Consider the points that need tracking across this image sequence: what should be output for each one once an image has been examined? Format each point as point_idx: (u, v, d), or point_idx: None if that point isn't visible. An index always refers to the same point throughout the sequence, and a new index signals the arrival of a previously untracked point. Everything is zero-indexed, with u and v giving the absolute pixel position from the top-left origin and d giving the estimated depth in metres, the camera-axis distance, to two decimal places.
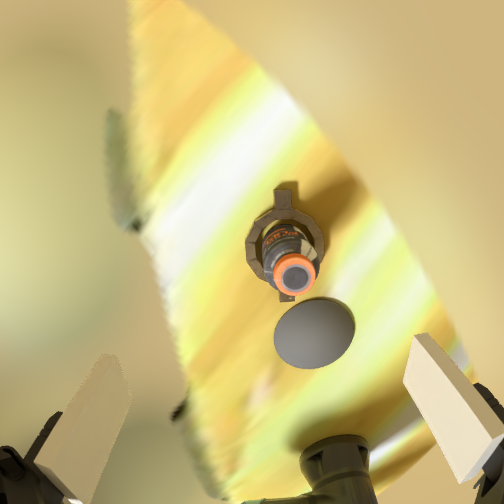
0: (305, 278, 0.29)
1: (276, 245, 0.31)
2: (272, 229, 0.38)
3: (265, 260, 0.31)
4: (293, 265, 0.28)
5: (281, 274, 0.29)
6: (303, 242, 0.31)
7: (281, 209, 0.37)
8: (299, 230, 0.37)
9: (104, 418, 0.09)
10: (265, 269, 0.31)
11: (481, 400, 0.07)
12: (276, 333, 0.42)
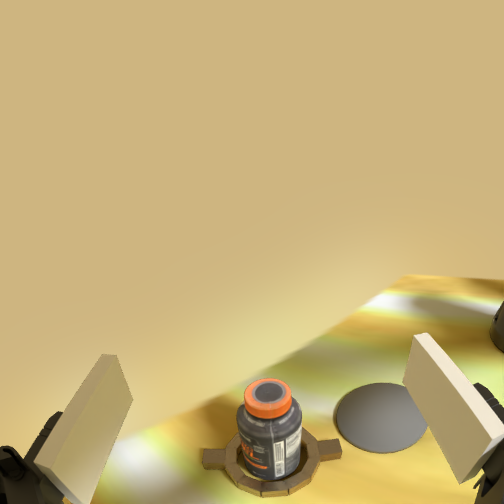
0: (268, 384, 0.24)
1: (241, 426, 0.23)
2: (247, 466, 0.25)
3: (258, 436, 0.22)
4: (253, 394, 0.23)
5: (263, 403, 0.22)
6: None
7: (224, 457, 0.26)
8: None
9: (104, 418, 0.09)
10: (269, 434, 0.22)
11: (481, 399, 0.07)
12: (389, 449, 0.25)
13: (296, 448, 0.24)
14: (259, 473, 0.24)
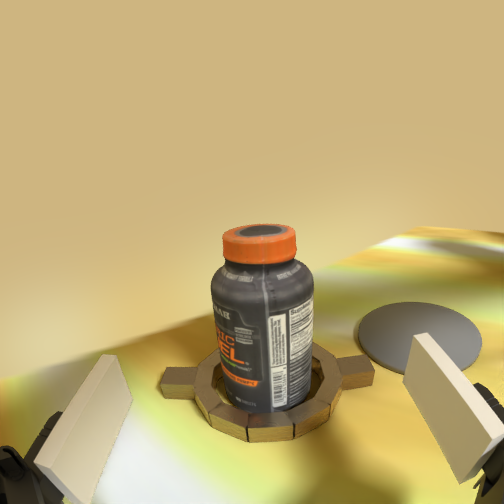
0: (260, 225, 0.17)
1: (215, 290, 0.16)
2: (228, 391, 0.18)
3: (242, 299, 0.15)
4: (236, 233, 0.16)
5: (252, 237, 0.15)
6: None
7: (194, 378, 0.19)
8: None
9: (104, 418, 0.09)
10: (260, 293, 0.15)
11: (481, 399, 0.07)
12: None
13: (306, 347, 0.17)
14: (246, 400, 0.17)
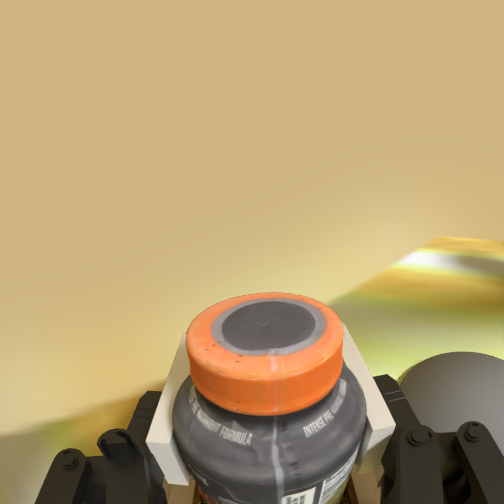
0: (267, 303, 0.08)
1: (178, 436, 0.07)
2: None
3: (231, 475, 0.06)
4: (215, 329, 0.07)
5: (249, 355, 0.06)
6: None
7: (167, 498, 0.10)
8: None
9: None
10: (267, 470, 0.05)
11: (377, 390, 0.09)
12: None
13: (341, 494, 0.07)
14: None
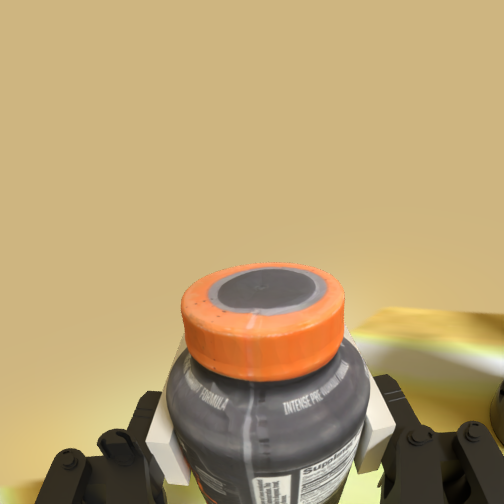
0: (274, 270, 0.08)
1: (166, 395, 0.07)
2: None
3: (201, 440, 0.06)
4: (212, 288, 0.07)
5: (231, 312, 0.06)
6: None
7: None
8: None
9: None
10: (236, 442, 0.05)
11: (377, 390, 0.09)
12: None
13: (332, 494, 0.07)
14: None
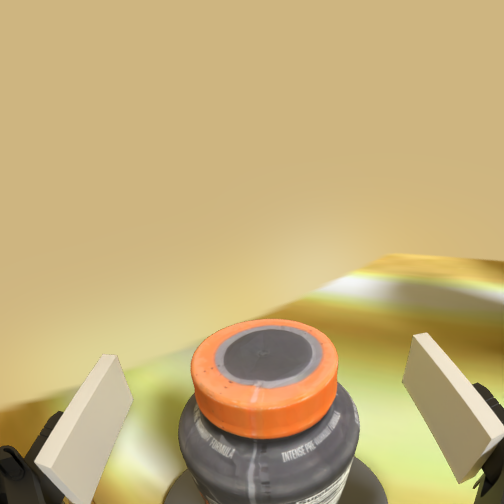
0: (274, 331, 0.09)
1: (179, 438, 0.08)
2: None
3: (212, 480, 0.06)
4: (219, 352, 0.08)
5: (237, 383, 0.07)
6: None
7: None
8: None
9: (105, 418, 0.09)
10: (242, 483, 0.06)
11: (480, 399, 0.07)
12: None
13: None
14: None
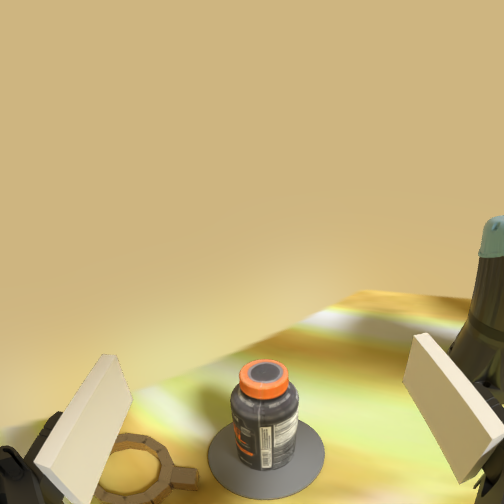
0: (267, 364, 0.24)
1: (232, 403, 0.23)
2: (237, 451, 0.25)
3: (245, 415, 0.22)
4: (248, 372, 0.23)
5: (255, 381, 0.22)
6: None
7: None
8: None
9: (104, 418, 0.09)
10: (256, 415, 0.21)
11: (481, 400, 0.07)
12: (253, 495, 0.21)
13: (287, 440, 0.23)
14: (246, 460, 0.24)
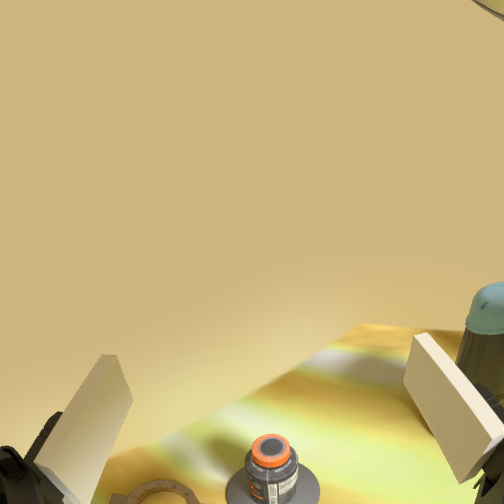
0: (273, 440, 0.27)
1: (246, 467, 0.26)
2: (250, 493, 0.29)
3: (257, 477, 0.25)
4: (258, 447, 0.27)
5: (264, 456, 0.25)
6: None
7: (125, 503, 0.26)
8: None
9: (104, 418, 0.09)
10: (265, 478, 0.25)
11: (481, 399, 0.07)
12: None
13: (289, 489, 0.26)
14: (257, 500, 0.27)
